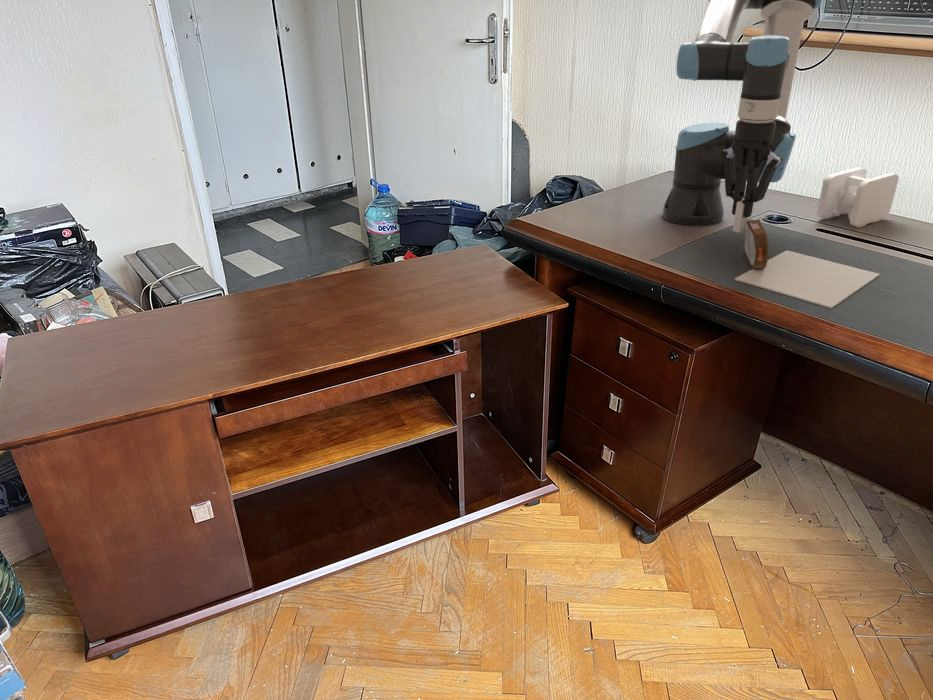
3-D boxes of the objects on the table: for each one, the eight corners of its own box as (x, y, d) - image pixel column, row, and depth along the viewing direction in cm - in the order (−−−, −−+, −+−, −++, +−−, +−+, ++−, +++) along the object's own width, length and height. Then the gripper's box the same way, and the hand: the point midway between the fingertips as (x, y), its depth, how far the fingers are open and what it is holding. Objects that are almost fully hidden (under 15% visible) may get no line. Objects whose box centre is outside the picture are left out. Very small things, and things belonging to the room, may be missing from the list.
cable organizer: (851, 231, 165) (863, 184, 160) (812, 220, 173) (822, 174, 168) (889, 219, 171) (901, 173, 166) (849, 208, 180) (860, 164, 174)
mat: (734, 279, 144) (734, 278, 143) (786, 251, 156) (786, 250, 156) (831, 308, 130) (831, 307, 130) (879, 275, 142) (879, 274, 142)
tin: (766, 274, 144) (772, 235, 140) (750, 274, 145) (755, 235, 141) (755, 250, 157) (759, 214, 153) (740, 250, 158) (744, 214, 154)
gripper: (717, 118, 141) (703, 227, 153) (778, 126, 133) (757, 241, 144) (737, 113, 146) (721, 219, 157) (796, 120, 137) (775, 232, 148)
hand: (738, 230), depth 151 cm, fingers closed
